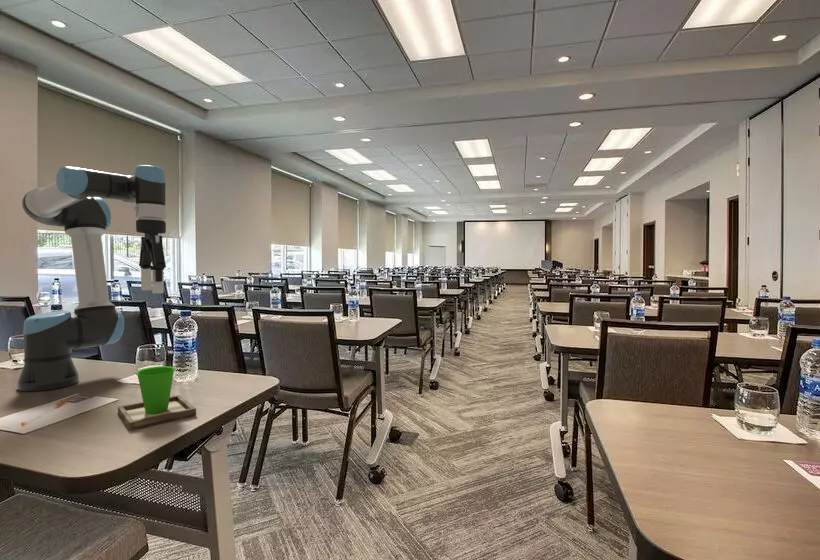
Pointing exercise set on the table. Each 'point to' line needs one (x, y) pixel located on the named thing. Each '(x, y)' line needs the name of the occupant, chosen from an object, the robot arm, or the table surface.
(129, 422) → the tray
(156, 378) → the cup
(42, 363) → the robot arm
